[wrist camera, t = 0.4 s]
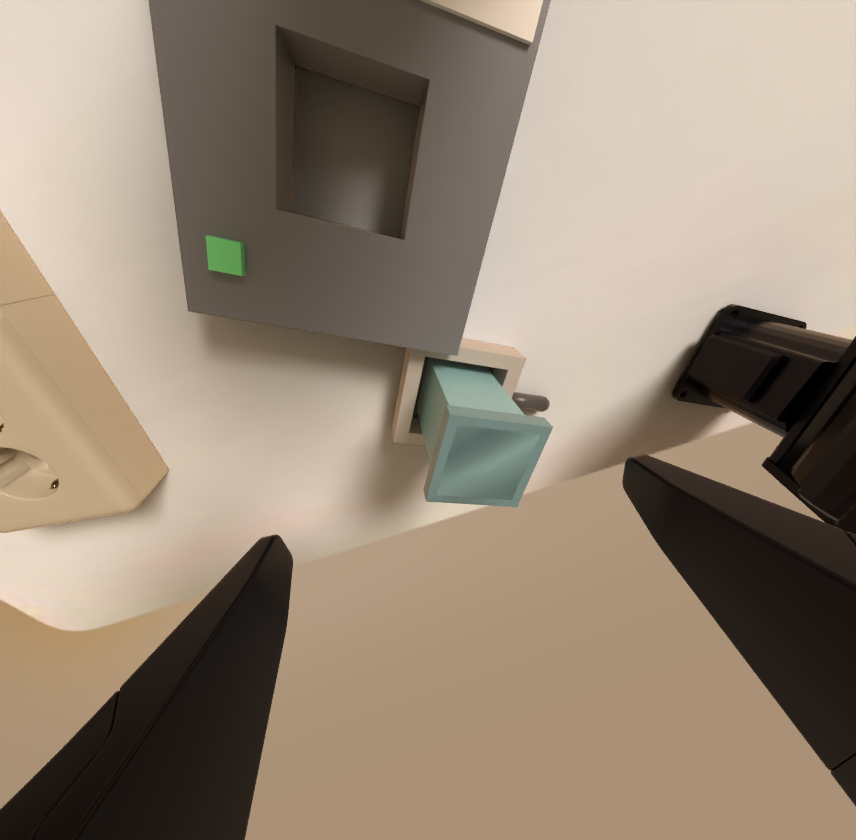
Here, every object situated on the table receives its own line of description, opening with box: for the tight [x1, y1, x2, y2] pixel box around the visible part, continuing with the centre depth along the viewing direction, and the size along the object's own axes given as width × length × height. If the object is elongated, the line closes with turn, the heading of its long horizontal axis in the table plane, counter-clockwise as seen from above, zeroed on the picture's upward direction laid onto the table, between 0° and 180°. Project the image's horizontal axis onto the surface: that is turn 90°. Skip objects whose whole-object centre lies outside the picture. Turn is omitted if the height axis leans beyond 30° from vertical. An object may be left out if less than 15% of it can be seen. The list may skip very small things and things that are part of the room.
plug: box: [417, 357, 553, 507], centre depth 17 cm, size 4×4×8 cm
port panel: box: [149, 0, 551, 356], centre depth 13 cm, size 12×14×3 cm
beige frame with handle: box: [392, 338, 549, 446], centre depth 20 cm, size 10×6×2 cm, turn 78°
